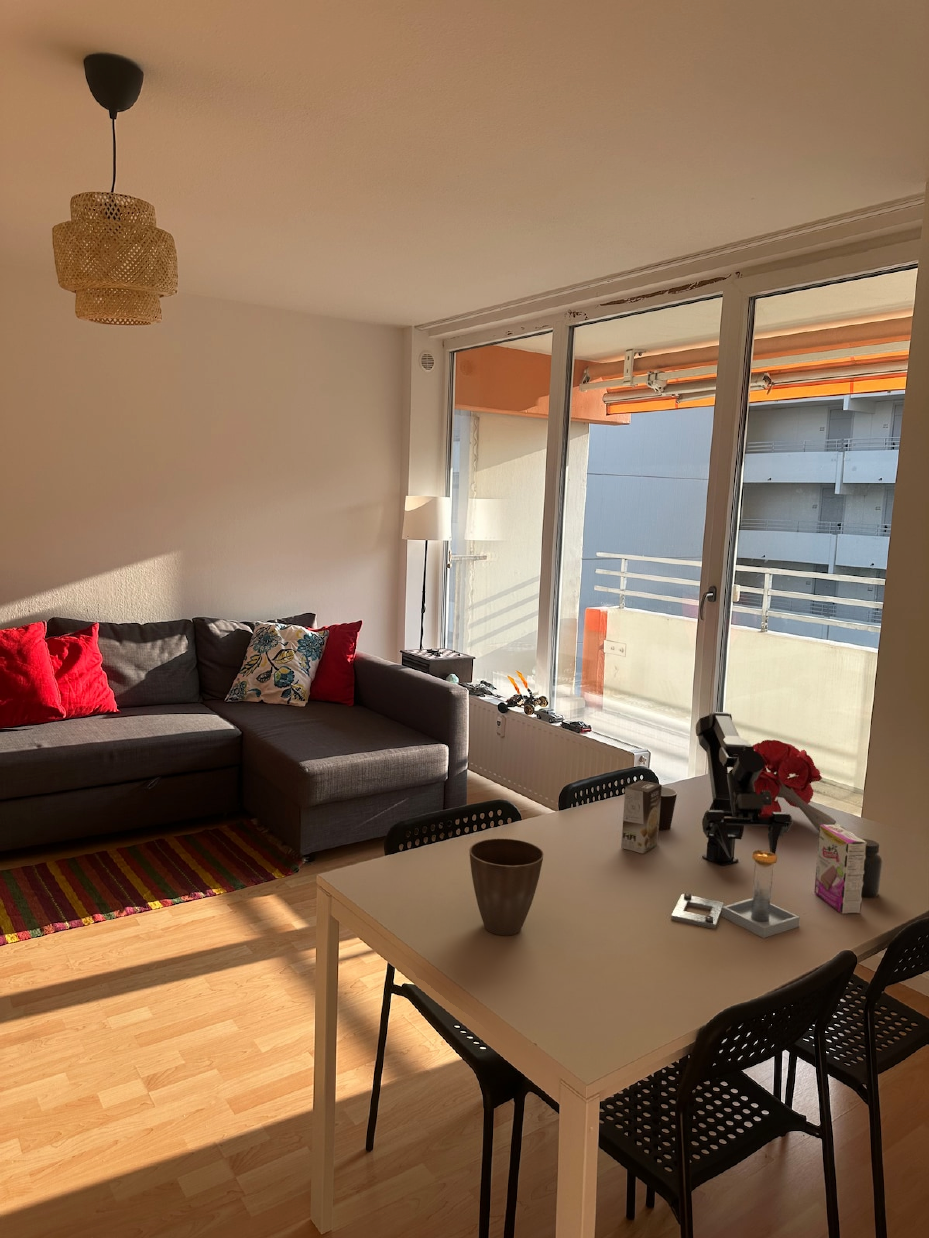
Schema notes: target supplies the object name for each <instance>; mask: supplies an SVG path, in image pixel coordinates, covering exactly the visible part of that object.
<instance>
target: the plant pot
mask: <svg viewBox="0 0 929 1238" xmlns="http://www.w3.org/2000/svg"><path fill="white" fill-rule="evenodd" d="M468 852H469V861H470V862H469V863H470V870H471V879H472V884H473V889H474V894H475V899H476V902H477V907H478V910H479V914H480V916H481V920H482V922H483V926H484V929H485V930H486V931H487V932H489V933H491V934H494V935H498V936H513V935H516V934H518V933H519V932H521V930H522V928H523V926H524V924H525V922H526V919H527V916H528V914H529V912H530V910H531V906H532V903H533V900H534V897H535V894H536V890H537V888H538V887H537V886H538V883H539V880H540V875H541V870H542V865H543V860H544V855H545V854H544V852H543V850H542V848H540V847H538V846H537V845H535V844H533V843H531V842H527V841H525V840H520V839H519V840H518V839H512V838H490V839H483V840H480V841H478V842H475V843H473V844H472V845H471V846H470V847H469V851H468Z"/></svg>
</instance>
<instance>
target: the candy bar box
mask: <svg viewBox="0 0 929 1238" xmlns="http://www.w3.org/2000/svg"><path fill="white" fill-rule="evenodd" d="M862 839H863V838H861V837H859V836H858V835H856V834H854V833H852V832H851V831H850V830H848V829H846V828H845V827H844V826H842V825H840V824H839V823H837V824H836V823H835V824H827V825H826V824H823V825H820V830H819V831H818V842H817V843H818V844H817V856H816V870H815V879H814V880H815V881H814V890H813V892H814V894H815V895H816V896H818V897H820V898H821V900H823V901H824V902H826V903H827V904H828V905H830V906H831V907H832V908H834V909H835V910H836V911H837V912H839V913H840V914H841V915H852V914H861V911H862V901H863V897H862V891H863V881H864V870H865V858H866V848H867V842H866V841H864V840H862Z"/></svg>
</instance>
